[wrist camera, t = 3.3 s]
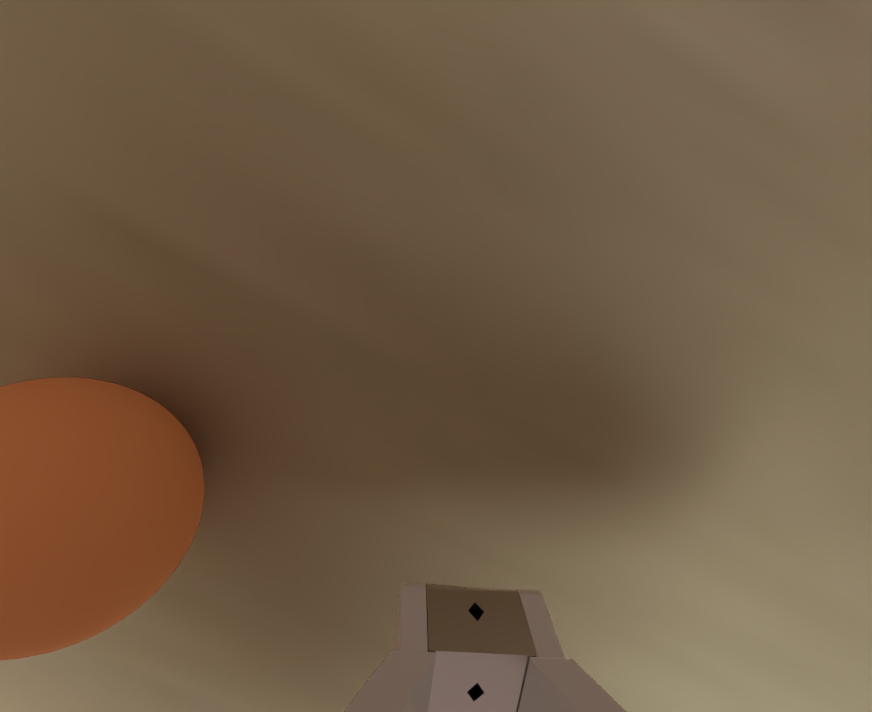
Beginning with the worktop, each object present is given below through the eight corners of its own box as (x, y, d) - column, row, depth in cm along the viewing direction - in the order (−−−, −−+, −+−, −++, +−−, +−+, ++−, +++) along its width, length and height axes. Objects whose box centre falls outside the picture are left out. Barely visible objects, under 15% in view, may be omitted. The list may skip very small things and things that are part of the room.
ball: (244, 363, 12) (95, 474, 6) (238, 541, 13) (113, 751, 8) (23, 334, 11) (-326, 427, 6) (43, 520, 13) (-225, 725, 8)
